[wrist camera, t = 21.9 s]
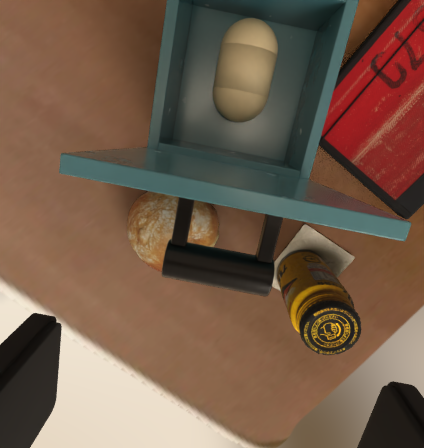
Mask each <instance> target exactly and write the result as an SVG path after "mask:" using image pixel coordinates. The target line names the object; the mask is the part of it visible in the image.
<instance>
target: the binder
mask: <svg viewBox="0 0 424 448" xmlns="http://www.w3.org/2000/svg"><path fill="white" fill-rule="evenodd" d="M319 145H320V146H321V147H322V148H323V149H324V150H325V151H326V152H327V153H328V154H329V155H331V156H332V157H333V158H334V159H335V160H336V161H338V162H339V163H340V164H341V165H342V166H343V167H345V168H346V169H347V170H348V171H349V172H350V173H351V174H352V175H353V176H355V177H356V178H357V179H358V180H359V181H360V182H361V183H362V184H363V185H365V186H366V187H367V188H368V189H369V190H370V191H372V192H373V193H374V194H375V195H376V196H377V197H378V198H380V199H381V200H382V201H383V202H384V203H385V204H386V205H388V206H389V207H390V208H391V209H392V210H394V211H395V212H396V213H397V215H399V216H401V217H403V218H405V219H409V218H410V217H411V216H412V215H413V214H414V213H415V212H416V211H417V210H418V209H419V208H420V207H421V206H422V205H423V204H424V0H398V2H397V3H396V4H395V5H394V6H393V7H392V9H391V10H390V11H389V12H388V13H387V15H386V16H385V17H384V18H383V19H382V21H381V22H380V23H379V24H378V25H377V26H376V28H375V29H374V30H373V31H372V32H371V34H370V35H369V36H368V37H367V38H366V40H365V41H364V42H363V43H362V44H361V46H360V47H359V48H358V49H357V51H356V52H355V53H354V54H353V55H352V57H351V58H350V59H349V60H348V61H347V63H346V64H345V65H344V66H343V67H342V68H341V70H340V71H339V73H338V77H337V81H336V84H335V88H334V91H333V95H332V98H331V102H330V106H329V109H328V113H327V116H326V120H325V123H324V127H323V130H322V134H321V138H320V141H319Z"/></svg>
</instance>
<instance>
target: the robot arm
mask: <svg viewBox="0 0 424 448" xmlns="http://www.w3.org/2000/svg"><path fill="white" fill-rule="evenodd" d="M60 341H61V324H60V323H56V318H55V317H53V316H48V315H43V314H38V313H33V314H32V315H31V316H30V317H29V318H27V319H26V320H25V321H24V322H23V324H21V325H20V326H19V327H18V328H17V329H16V330H15V331H14V332H13V333H12V334H11V335H10V336H9V337H8V338H7V339H6V340H5V341H4V342H3V343H2V344H1V345H0V448H30V447H31V445H32V444H33V442H34V440H35V438H36V437H37V435H38V434H39V432H40V430H41V428H42V427H43V426H44V424H45V422H46V421H47V419H48V417H49V416H50V414H51V412H52V410H53V408H54V405H55V401H56V394H57V381H58V368H59V354H60ZM357 448H424V398H423V396H422V395H421V394H420V392H419V391H418V390H417V388H415V387H414V386H412V385H409V384H404V383H398V382H390V383H389V384H388V385H387V386H384V387H383V388H382V390H381V392H380V394H379V396H378V399H377V401H376V404H375V406H374V409H373V411H372V413H371V416H370V418H369V421H368V423H367V426H366V428H365V430H364V433H363V435H362V438H361V440H360V442H359V445H358V447H357Z"/></svg>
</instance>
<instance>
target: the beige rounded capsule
mask: <svg viewBox="0 0 424 448" xmlns="http://www.w3.org/2000/svg"><path fill="white" fill-rule="evenodd" d="M277 53H278V43H277V39H276V36H275V34H274V32H273V30H272V29H271V28H270V26H269V25H267V24H266V23H265V22H264V21H261V20H259V19H255V18H246V19H242V20H239V21H238V22H236V23H234V24H233V25H232V26H231V27H230V28H229V29H228V30H227V32H226V33H225V35H224V37H223V39H222V43H221V47H220V53H219V58H218V64H217V69H216V75H215V81H214V86H213V100H214V104H215V106H216V108H217V110H218V111H219V113H220V114H221V115H222V116H224V117H225V118H226V119H228V120H230V121H234V122H246V121H249V120H251V119H253V118H255V117H256V116H257V115H259V114H260V113H261V111H262V110H263V109H264V107H265V105H266V102H267V99H268V95H269V91H270V86H271V82H272V77H273V73H274V68H275V64H276V59H277Z"/></svg>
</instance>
